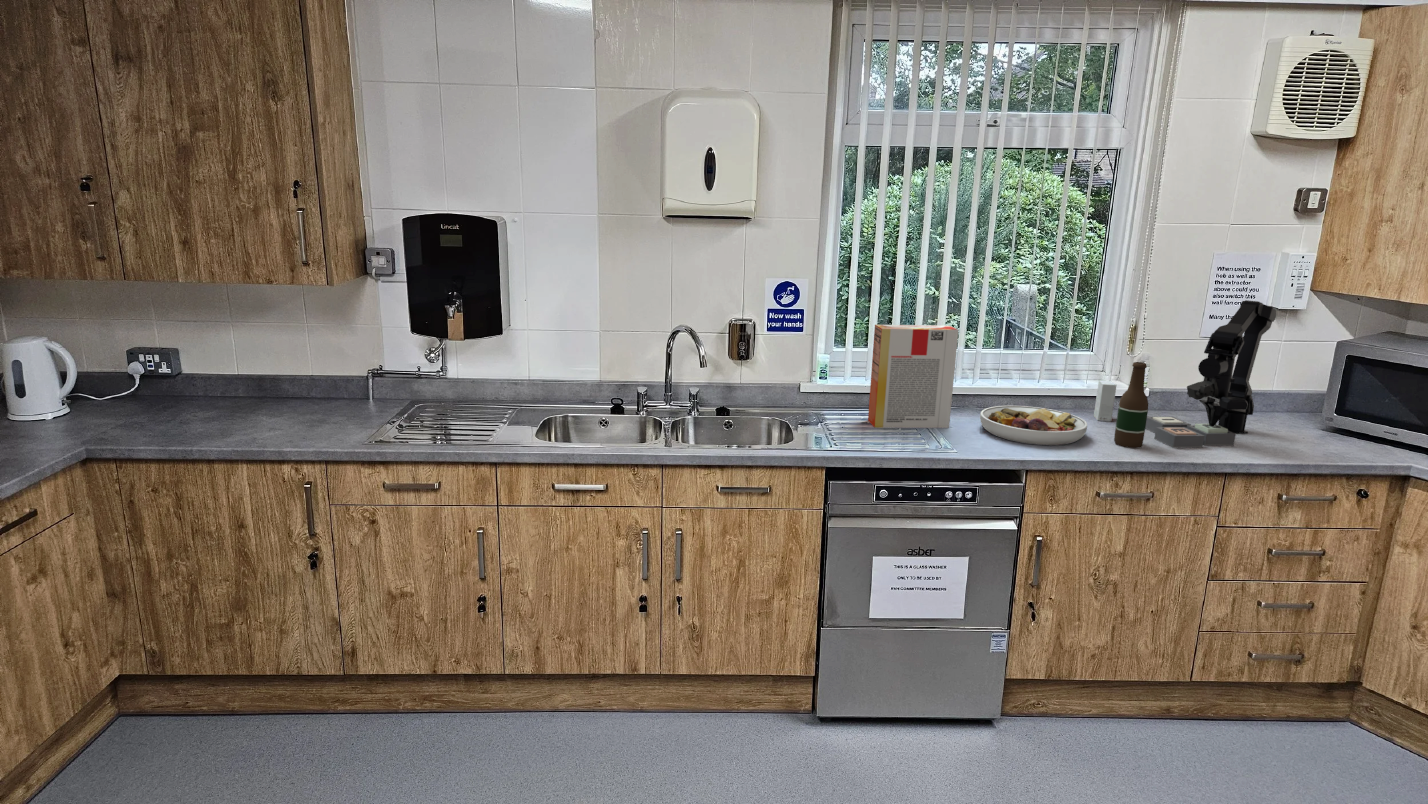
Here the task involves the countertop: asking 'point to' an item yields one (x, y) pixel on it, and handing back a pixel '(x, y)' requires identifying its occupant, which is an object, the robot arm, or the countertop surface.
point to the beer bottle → (1132, 411)
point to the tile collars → (1188, 440)
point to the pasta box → (912, 376)
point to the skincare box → (1105, 400)
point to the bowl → (1033, 425)
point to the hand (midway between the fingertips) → (1211, 425)
